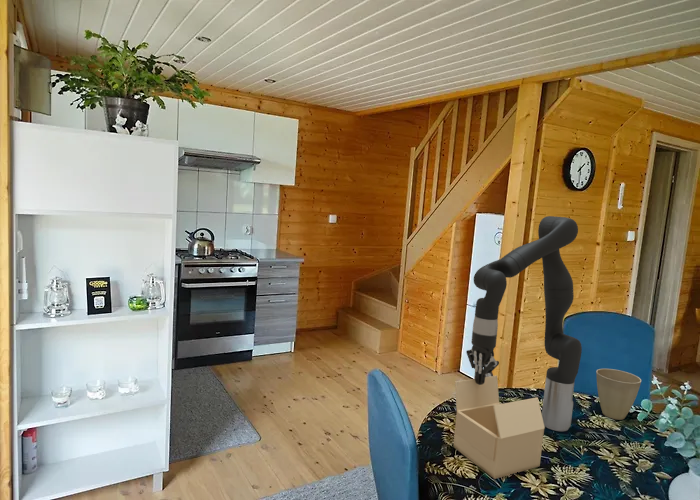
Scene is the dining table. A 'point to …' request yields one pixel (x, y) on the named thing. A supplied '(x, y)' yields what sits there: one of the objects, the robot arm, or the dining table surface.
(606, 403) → the plant pot
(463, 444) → the carton
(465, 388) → the flap
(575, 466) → the dining table surface
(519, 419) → the flap
